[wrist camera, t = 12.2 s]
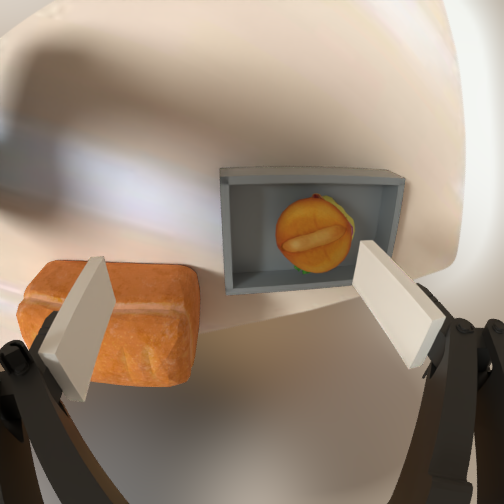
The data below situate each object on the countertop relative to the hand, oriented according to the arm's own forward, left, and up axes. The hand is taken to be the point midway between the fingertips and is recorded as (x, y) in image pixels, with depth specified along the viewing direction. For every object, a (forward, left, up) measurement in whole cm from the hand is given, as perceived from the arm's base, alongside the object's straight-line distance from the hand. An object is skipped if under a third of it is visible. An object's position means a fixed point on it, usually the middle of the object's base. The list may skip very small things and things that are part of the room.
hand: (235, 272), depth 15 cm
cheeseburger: (+11, -8, -25) cm, 28 cm away
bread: (-18, -19, -26) cm, 37 cm away
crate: (+11, -8, -26) cm, 29 cm away
